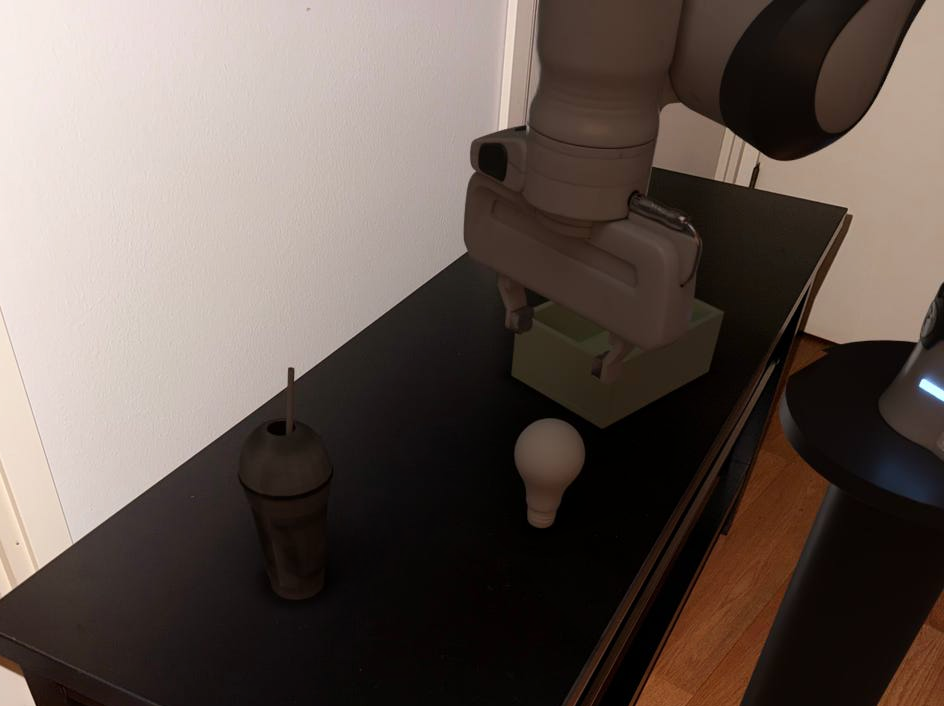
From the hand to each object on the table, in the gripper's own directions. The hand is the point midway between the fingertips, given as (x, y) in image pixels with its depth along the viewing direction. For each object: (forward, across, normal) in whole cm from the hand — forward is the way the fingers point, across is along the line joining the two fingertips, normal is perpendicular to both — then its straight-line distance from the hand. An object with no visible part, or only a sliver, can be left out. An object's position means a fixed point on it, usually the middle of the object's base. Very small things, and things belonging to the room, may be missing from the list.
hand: (560, 353), depth 75 cm
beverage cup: (+18, +8, +21) cm, 29 cm away
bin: (+17, +13, -26) cm, 34 cm away
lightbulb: (+18, 0, 0) cm, 18 cm away
